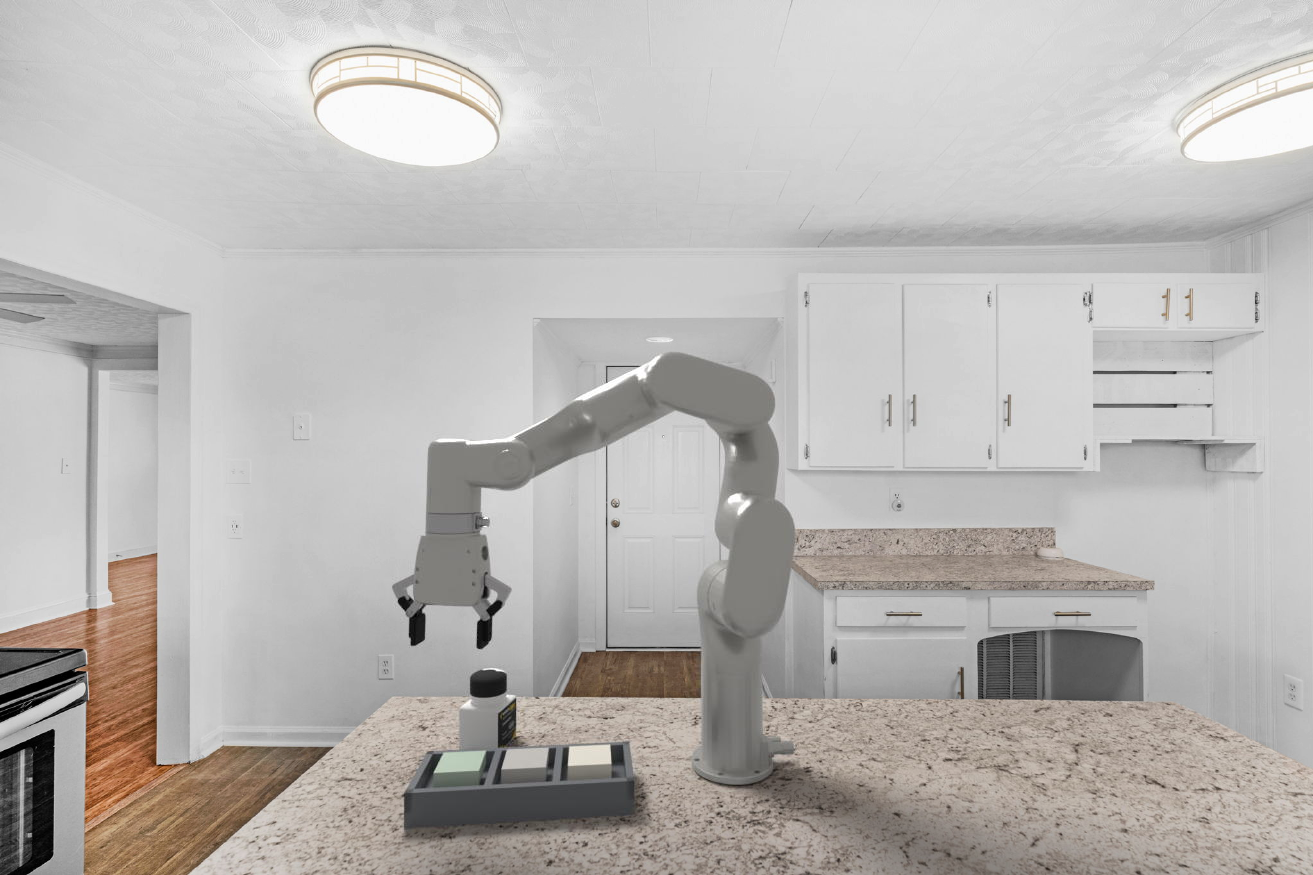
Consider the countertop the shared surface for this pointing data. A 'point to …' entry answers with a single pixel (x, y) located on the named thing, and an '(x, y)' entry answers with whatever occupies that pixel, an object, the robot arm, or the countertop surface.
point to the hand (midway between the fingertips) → (450, 644)
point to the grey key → (525, 765)
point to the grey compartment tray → (520, 792)
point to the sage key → (459, 769)
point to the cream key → (589, 762)
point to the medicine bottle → (487, 712)
